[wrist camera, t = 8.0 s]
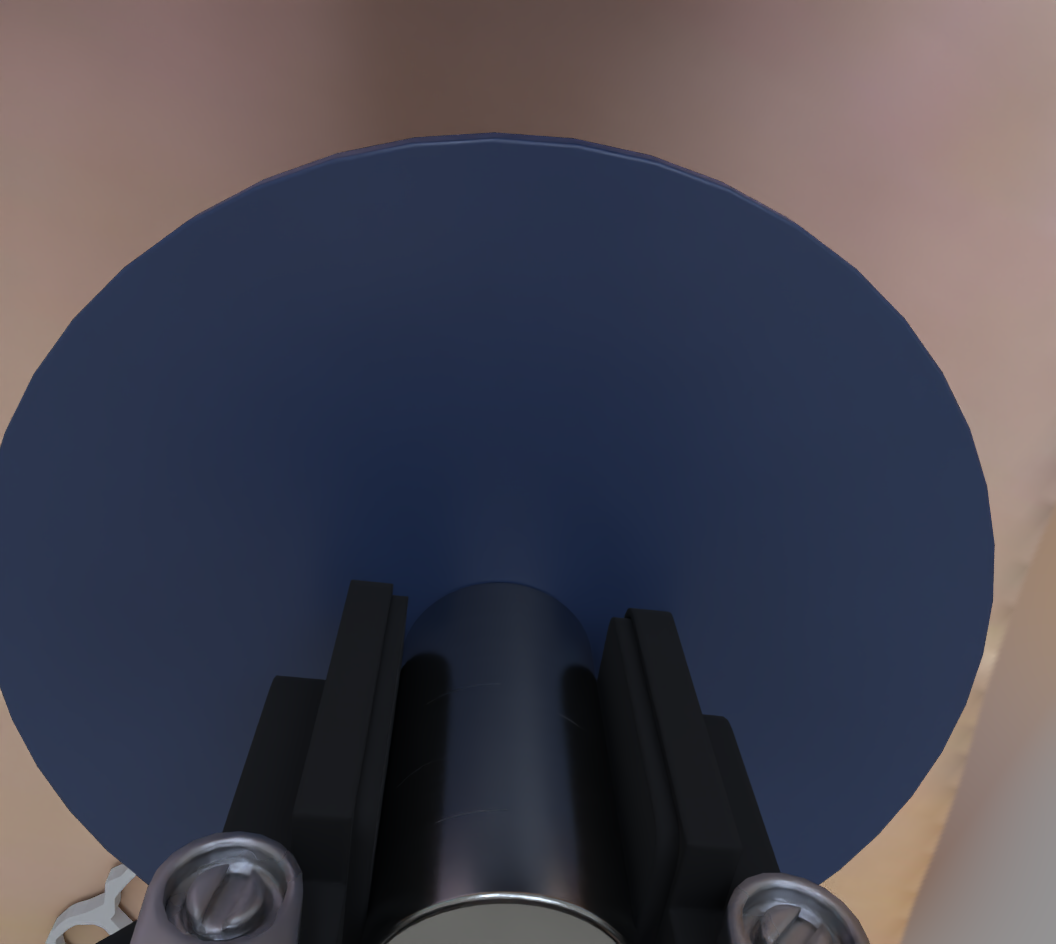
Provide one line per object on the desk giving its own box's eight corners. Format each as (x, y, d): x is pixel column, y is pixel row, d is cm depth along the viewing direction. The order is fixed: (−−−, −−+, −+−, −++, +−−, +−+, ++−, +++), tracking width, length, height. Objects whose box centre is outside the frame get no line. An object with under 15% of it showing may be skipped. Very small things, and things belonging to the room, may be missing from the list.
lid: (-30, 44, 11) (-610, 73, 5) (1106, 210, 12) (1654, 381, 6) (54, 902, 16) (-174, 1362, 11) (815, 954, 18) (965, 1390, 12)
